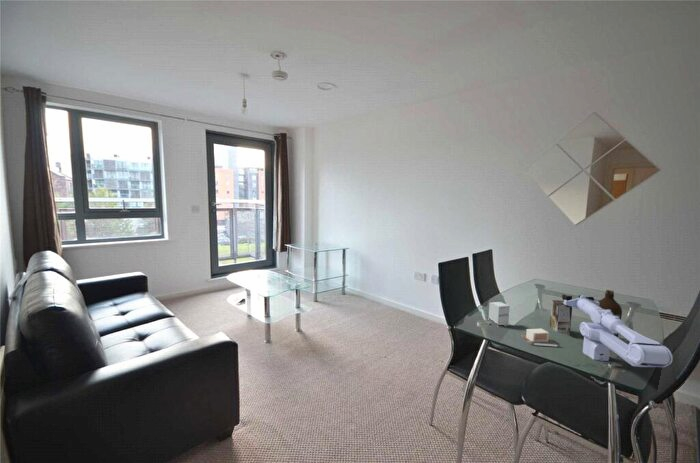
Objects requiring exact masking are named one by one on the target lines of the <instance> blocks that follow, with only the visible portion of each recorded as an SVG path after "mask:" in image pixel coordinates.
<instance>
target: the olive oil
mask: <svg viewBox="0 0 700 463" xmlns="http://www.w3.org/2000/svg"><path fill="white" fill-rule="evenodd" d="M614 298H615V292H614V290H611V289H606V290H605V294H604V297H603V298H602V299H600V300H598V301H597V302H599V303H600V304H599V307H601V308H602V309H604V310H611V312H612V313H613V315H614V316H617V317H619V319H620V320H622V315H623V309H622V307H621V305H620V304H619V302H617V301H616V300H615V299H614ZM619 334H620V333H614V335H615V336H616V337H618V338H619Z"/></svg>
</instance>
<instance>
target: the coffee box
mask: <svg viewBox="0 0 700 463" xmlns="http://www.w3.org/2000/svg"><path fill="white" fill-rule="evenodd" d="M550 301H551V304H550V317H549V318H550V320H549V327H550V328H552V329H553V331H555V332H556V333H560V334H561V333H563V334H565V335H567V336H568V337H569V336H571V326H572V315H573V307H571V306H570V307H566V306H565V304H564V300H554V299H553V300H552V299H551V300H550Z"/></svg>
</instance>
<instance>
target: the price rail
mask: <svg viewBox="0 0 700 463" xmlns="http://www.w3.org/2000/svg"><path fill="white" fill-rule="evenodd" d="M534 345H536V346H538V347H548V346H549V348H560V347H561V346H560V343H558V342H555V343H549V342H535V341H531V345H530V346H534ZM559 346H560V347H559Z"/></svg>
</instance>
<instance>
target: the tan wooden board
mask: <svg viewBox="0 0 700 463" xmlns="http://www.w3.org/2000/svg"><path fill="white" fill-rule="evenodd" d="M519 335H520V336H521V338H523V339H524V340H525V341H526V343H528V345H530V346H532V345H531V341H530V340H529V339H527V338H526V334H521V333H520V334H519ZM548 342H549V343H556V342H555V341H554V340H553V339H551V338H550V337H549V338H548ZM533 346H534V347H535V346H536V345H533ZM547 347H549V346H547ZM549 348H550V347H549ZM558 348H561V346H559V347H558Z"/></svg>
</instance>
